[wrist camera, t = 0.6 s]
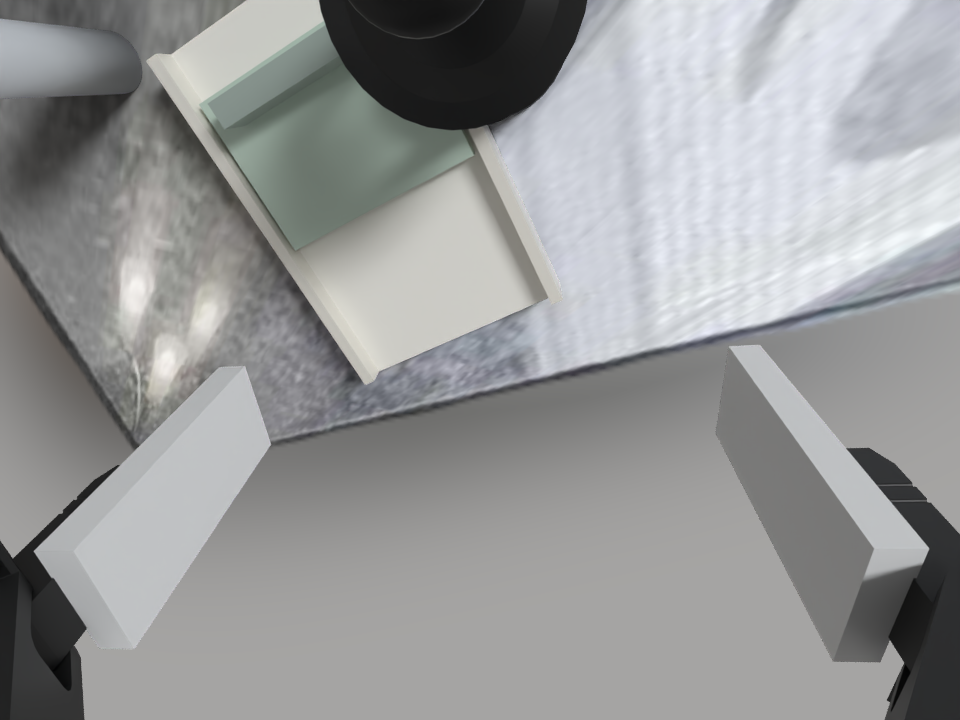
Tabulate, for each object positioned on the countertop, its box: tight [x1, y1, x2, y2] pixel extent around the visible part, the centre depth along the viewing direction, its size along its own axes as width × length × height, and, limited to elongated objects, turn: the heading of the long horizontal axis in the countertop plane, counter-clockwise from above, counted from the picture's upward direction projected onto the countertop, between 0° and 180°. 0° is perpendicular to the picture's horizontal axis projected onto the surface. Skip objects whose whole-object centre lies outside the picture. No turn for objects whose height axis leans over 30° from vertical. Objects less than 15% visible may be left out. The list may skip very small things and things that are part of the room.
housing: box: [146, 0, 563, 385], centre depth 35 cm, size 24×16×4 cm, turn 27°
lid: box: [199, 21, 475, 251], centre depth 32 cm, size 10×14×4 cm
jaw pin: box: [0, 19, 142, 99], centre depth 30 cm, size 4×4×12 cm
